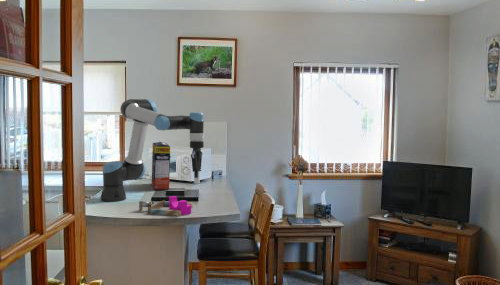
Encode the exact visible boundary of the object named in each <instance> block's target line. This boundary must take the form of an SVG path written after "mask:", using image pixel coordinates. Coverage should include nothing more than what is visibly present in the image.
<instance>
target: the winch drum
mask: <svg viewBox="0 0 500 285" xmlns="http://www.w3.org/2000/svg"><path fill="white" fill-rule="evenodd" d="M154 202H155V201H154V200H151V201H142V200H140V201H138V204H139V205H138V206H139V207H138V210H139V212H141V211H143V208H147V209H148V208H150V207H151V206H153V205H155V203H154Z"/></svg>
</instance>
